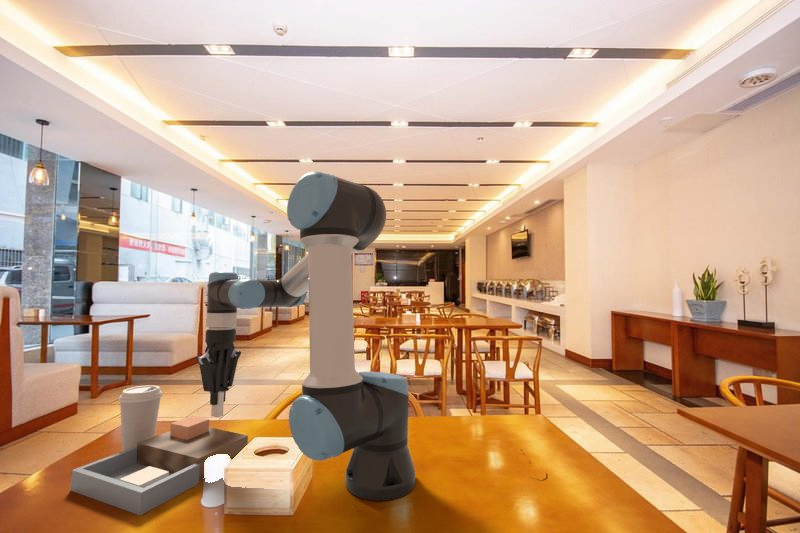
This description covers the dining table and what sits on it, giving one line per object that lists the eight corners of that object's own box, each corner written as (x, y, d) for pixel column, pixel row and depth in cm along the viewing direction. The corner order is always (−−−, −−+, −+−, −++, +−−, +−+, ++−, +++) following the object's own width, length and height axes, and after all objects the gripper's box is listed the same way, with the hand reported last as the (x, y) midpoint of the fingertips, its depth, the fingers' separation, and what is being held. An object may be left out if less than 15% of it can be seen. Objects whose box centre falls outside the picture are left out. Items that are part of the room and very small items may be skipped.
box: (198, 483, 79) (199, 464, 79) (139, 515, 67) (141, 492, 68) (133, 464, 87) (134, 447, 87) (70, 490, 75) (72, 470, 76)
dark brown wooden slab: (247, 456, 92) (248, 435, 92) (197, 482, 79) (198, 458, 79) (189, 442, 100) (190, 423, 100) (135, 464, 87) (136, 442, 87)
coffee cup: (136, 458, 90) (140, 395, 91) (104, 454, 92) (108, 392, 93) (168, 443, 99) (172, 385, 100) (138, 439, 101) (142, 383, 102)
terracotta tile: (208, 431, 95) (209, 419, 95) (187, 439, 89) (188, 427, 89) (191, 427, 97) (192, 415, 97) (170, 435, 91) (170, 423, 92)
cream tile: (139, 485, 71) (138, 501, 71) (169, 471, 77) (168, 486, 76) (119, 479, 73) (118, 494, 73) (149, 466, 79) (148, 480, 79)
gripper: (230, 325, 110) (226, 407, 108) (190, 329, 98) (185, 421, 96) (249, 326, 107) (246, 410, 105) (211, 331, 95) (206, 426, 93)
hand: (217, 415), depth 101 cm, fingers closed
